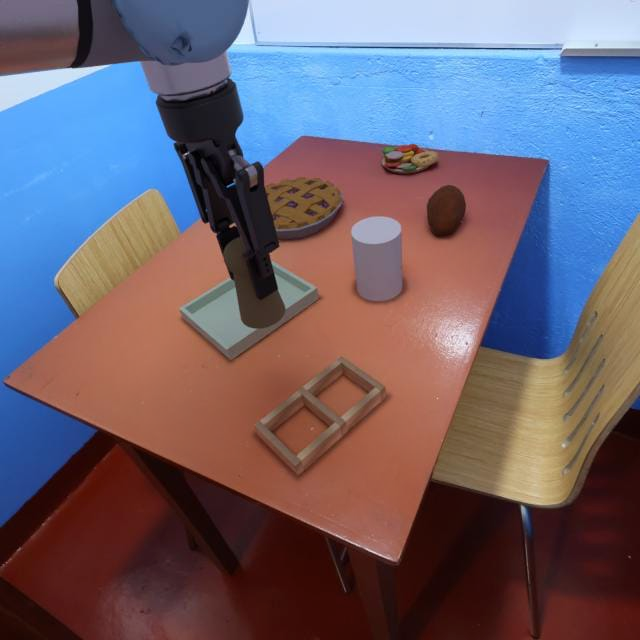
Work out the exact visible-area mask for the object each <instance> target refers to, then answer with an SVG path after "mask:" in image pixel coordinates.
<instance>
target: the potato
mask: <svg viewBox="0 0 640 640" xmlns="http://www.w3.org/2000/svg"><path fill="white" fill-rule="evenodd" d="M466 210H467V203H466V197H465V195H464V194H463V192H462V191H461V189H460V188H458V187H457V186H455V185H452V184H447V185H443V186H440V187H439V188H438V189H437V190H435V191H434V192H433V194H432V195H431V196H430V197H429V198H428V201H427V203H426V218H427V223H428V225H429V227H430V229H431V230H432V231H433V233H434V234H435V235H437V236H447V235H449V234H450V233H451V232H453V231H454V230H455V229H456V228H457V227H458V225H459V224H460V223H461V221H463V217H464V216H465V214H466Z"/></svg>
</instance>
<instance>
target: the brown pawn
mask: <svg viewBox="0 0 640 640" xmlns="http://www.w3.org/2000/svg"><path fill="white" fill-rule="evenodd" d="M246 252H247V250H246V247H245V245H244V243H243V240H242V238H241V237H238V238H236V239H234V240H232V241H231V242H229V243H228V244H227V245H226V247H225V249H224V252H223V255H224V258H223V262H224V264H225V267H226V266H227V267H226V269H227V268H228V269H229V270H230V271H231V272H232V273H233V276H234V282H235V288H236V294H237V299H238V305H239V311H240V317H241V321H242V322H243V324H244V325H246V326H247V327H250V328H254V329H262V328H266V327H270V326H272V325H274V324H276V323H277V322H278V321H280V320H281V319H282V317H283V316H284V314H285V311H286V309H285V305H284V302H283V300H282V298H281V296H280V293H279V291H278V290H276V291H275V292H273V293H272V294H270V295H269V296H267V297H265V298H264V299H262V300H259V299H258V298H257V296H256V293H255V289H254V286H253V283H252V280H251V276H250V273H249V270H248V266H247V263H246V260H245V259H244V258H243V256H242V254H244V253H246ZM223 255H222V256H223Z"/></svg>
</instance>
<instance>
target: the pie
mask: <svg viewBox="0 0 640 640" xmlns="http://www.w3.org/2000/svg"><path fill="white" fill-rule="evenodd" d="M265 190H266V194H267V198H268V202H269V206H270V210H271V213H272V217H273V221H274V225H275V229H276V233H277V237H278V239H283V240H290V239H302V238H305V237H309V236H311V235H313V234H316V233H317V232H319V231H321V230H322V229H324V228H326V227H328V226H329V224H330V223H331V222H332V221H333V220H334V219H335V217H336V216H337V213H338V211H339V209H340V208H341V206H342V204H343V198H344V194H343V193H342V192H341V190H340V188H339V187H336V186H335V185H334V183H332V182H331V181H329V180H326V181H323V180H322V179H321V178H319V177H314V178H311V179H310V178H306V177H305V176H301V177H297V178H295V179H289V178H284V179H281V181H280V182H278V183H269V184H267V185H266V186H265Z"/></svg>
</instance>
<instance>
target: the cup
mask: <svg viewBox="0 0 640 640" xmlns="http://www.w3.org/2000/svg"><path fill="white" fill-rule="evenodd" d="M350 235H351V245H352V254H353V263H354V264H353V265H354V272H355V282H356V290H357V293H358V295H359V296H360V297H361V298H363V299H365V300H367V301H370V302H385V301H390V300H392V299H394V298H396V297H397V296H399V295H400V294H401V293H402V291H403V245H402V243H403V242H402V241H403V239H402V225H401V224H400V222H399V221H398V220H396V219H394V218H392V217H389V216H378V215H377V216H376V215H375V216H369V217H366V218H363V219H361V220H359V221H357V222H356V223H355V224H354V225H353V226H352V227H351V230H350Z"/></svg>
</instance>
